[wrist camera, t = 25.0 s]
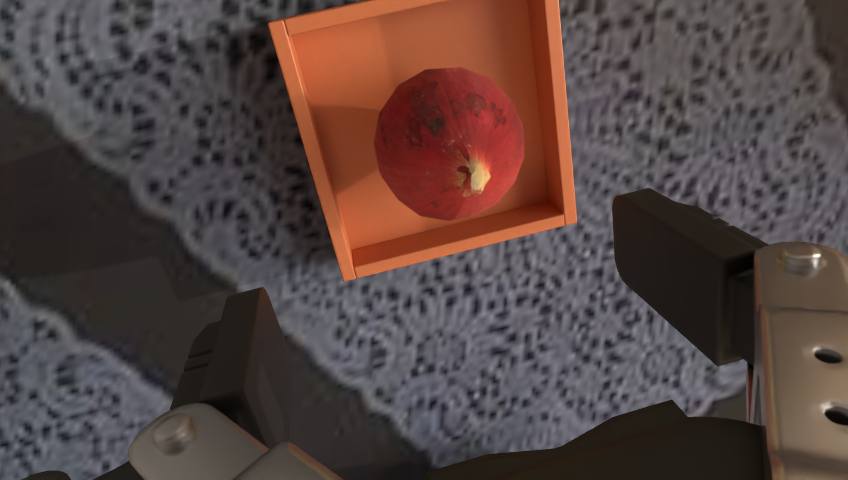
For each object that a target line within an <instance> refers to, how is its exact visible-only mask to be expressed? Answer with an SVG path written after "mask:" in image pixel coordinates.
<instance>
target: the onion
mask: <svg viewBox="0 0 848 480" xmlns="http://www.w3.org/2000/svg"><path fill="white" fill-rule="evenodd" d="M374 148H375V153H376V158H377V163H378V168H379V172H380V174H381V176H382V178H383V179H384V181H385V182H386V184H387V185H388V187H389V188H390V189H391V191H392V192H393V194H394V195H395V196H396V198H397V199H398V200H399V201H400V202H402V203H403V204H404V205H406V206H407V207H408V208H410V209H411V210H412V211H414V212H415V213H416V214H418V215H419V216H422V217H428V218H434V219H439V220H445V221H452V220H457V219H462V218H467V217H472V216H476V215H478V214H479V213H481V212H483V211H485V210H486V209H488V208H490V207H492V206H493V205H495V204H497V203H498V202H499V201H500V199H501V198H502V197H503V196H504V195H505V193H506V192H507V191H508V190H509V189H510V187H511V186H512V185H513V184H514V183H515V180H516V178H517V175H518V172H519V170H520V167H521V164H522V162H523V159H524V129H523V124H522V122H521V120H520V118H519V116H518V113H517V111H516V109H515V107H514V105H513V102H512V101H511V100H510V98H509V97H508V96H507V95H506V94H505V93H504V92H503V91H502V90H501V89H500V88H499V87H498V86H497V85H496V84H495V83H494V82H493V81H492V80H491V79H490V78H489V77H487V76H484V75H481V74H478V73H476V72H473V71H470V70H467V69H465V68H462V67H455V68H440V69H425V70H424V71H422V72H420V73H418V74H417V75H415V76H413V77H411V78H410V79H408V80H406V81H404V82H403V83H401V84H399V85H398V86H397V88H396V89H395V91H394V92H393V94H392V95H391V96H390V98H389V99H388V101H387V102H386V104H385V105H384V107H383V108H382V110H381V111H380V113H379V116H378V122H377V127H376V133H375V139H374Z"/></svg>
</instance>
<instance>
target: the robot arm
mask: <svg viewBox="0 0 848 480" xmlns="http://www.w3.org/2000/svg"><path fill="white" fill-rule="evenodd" d="M612 214H613V233H614V252H615V262H616V266H617V270H618V272H619V274H620V276H621V278H622V280H623V281H624V282H625V284H626V285H628V286H629V287H630V288H631V289H632V290H633V291H634V292H635V293H636V294H638V295H639V296H640V297H641V298H642V299H643V300H644V301H645V302H647V303H648V304H649V305H650V306H651V307H652V308H653V309H654V310H655V311H657V312H658V313H659V314H660V315H661V316H662V317H663V318H664V319H665V320H667V321H668V322H669V323H670V324H671V325H672V326H673V327H674V328H675V329H677V330H678V331H679V332H680V333H681V334H682V335H683V336H684V337H686V338H687V339H688V340H689V341H690V342H691V343H692V344H693V345H694V346H696V347H697V348H698V349H699V350H700V351H701V352H702V353H703V354H704V355H706V356H707V357H708V358H709V359H710V360H711V361H712V362H713V363H714V364H716V365H717V366H721V365H725V364H728V363H732V362H735V361H738V360H742V359H744V360H746V361H747V374H746V395H747V422H745V421H739V420H733V419H728V418H717V417H687V416H686V415H685V413H684V412H683V411H682V410H681V409H680V408H679V407H678V406H677V405H676V403H675V402H674V401H673V400H669V401H665V402H662V403H659V404H655V405H652V406H648V407H645V408H642V409H638V410H635V411H632V412H628V413H625V414H622V415H618V416H615V417H612V418H610V419H609V420H607V421H605V422H603V423H602V424H600V425H598V426H596V427H595V428H593V429H591V430H589V431H588V432H586V433H584V434H582V435H581V436H579V437H577V438H575V439H574V440H572V441H570V442H568V443H567V444H565V445H563V446H561V447H558V448H554V449H545V450H533V451H521V452H509V453H497V454H487V455H483V456H480V457H477V458H473V459H470V460H466V461H463V462H460V463H456V464H453V465H450V466H446V467H443V468H439V469H436V470H433V471H429V472H426V473H425V478H426V480H848V259H847V258H846V257H845V256H844V255H843V254H841V253H840V252H838V251H836V250H834V249H832V248H829V247H826V246H823V245H819V244H814V243H807V242H781V243H775V244H771V245H768V244H767V243H765V242H763V241H761V240H759V239H757V238H755V237H753V236H751V235H750V234H748V233H746V232H744V231H742V230H740V229H738V228H736V227H735V226H730V225H729V223H727V222H725V221H723V220H721V219H720V218H718V219H716V216H714V215H712V214H710V213H708V212H706V211H704V210H703V209H701V208H699V207H694V206H690V205H686V204H682V203H678V202H674V201H672V200H671V199H669V198H667V197H665V196H663V195H661V194H660V193H658V192H656V191H654V190H652V189H650V188H646V189H642V190H639V191H635V192H631V193H627V194H623V195H619V196H616V197H615V198H614V200H613V205H612ZM188 357H189V359H187V361H186V364H185V367H184V372H183V373H182V376H181V379H180V382H179V384H178V387H177V390H176V393H175V396H174V399H173V402H172V405H171V408H170V411H168V412H166V413H164V414H162V415H161V416H159V417H157V418H156V419H154V420H153V421H152V422H150V423H149V424H148V425H147V426H146V427H144V428H143V429H142V430H141V431H140V432H139V434H138V435H137V436H136V437H135V439H134V440H133V442H132V444H131V446H130V449H129V453H128V457H129V461H128V462H126V463H125V464H123V465H121V466H119V467H118V468H116V469H114V470H112V471H110V472H108V473H106V474H104V475H102V476H100V477H98V478H96V479H94V480H343V479H342V478H340V477H339V476H337V475H336V474H335V473H333V472H332V471H330V470H329V469H327V468H326V467H325V466H323V465H322V464H320V463H319V462H317V461H316V460H315V459H313V458H312V457H310V456H309V455H307V454H306V453H305V452H303V451H302V450H300V449H299V448H298V447H296V446H295V445H293V444H292V443H290V442H288V441H289V421H290V402H291V382H292V368H291V361H290V356H289V352H288V349H287V346H286V343H285V340H284V337H283V334H282V332H281V329H280V326H279V323H278V321H277V318H276V315H275V312H274V310H273V307H272V304H271V301H270V299H269V296H268V294H267V292H266V290H265V289H264V288H263V287H261V288H257V289H253V290H249V291H245V292H241V293H238V294H234V295H230V296H228V297H227V300H226V304H225V307H224V311H223V314H222V318H221V321H218V322H215V323H211V324H208V325H207V326H206V327H205V328H204V329H203V331H202V332H201V333H200V334H199V335H198V336H197V337H196V338H195V339H194V341H193V344H192V347H191V350H190V353H189V355H188ZM22 480H71V479H70V477H69V476H68V475H67V474H66V473H64V472H61V471H45V472H41V473H37V474H34V475H32V476H29V477H26V478H24V479H22Z"/></svg>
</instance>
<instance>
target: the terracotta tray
mask: <svg viewBox="0 0 848 480" xmlns="http://www.w3.org/2000/svg"><path fill="white" fill-rule="evenodd" d="M268 26H269V30H270V33H271V37H272V40H273V43H274V47H275V50H276V54H277V57H278V60H279V64H280V67H281V71H282V74H283V77H284V81H285V84H286V88H287V91H288V94H289V98H290V101H291V105H292V108H293V111H294V115H295V118H296V122H297V125H298V128H299V132H300V135H301V138H302V142H303V145H304V149H305V152H306V155H307V159H308V162H309V166H310V169H311V172H312V176H313V179H314V183H315V186H316V189H317V193H318V196H319V200H320V203H321V206H322V210H323V213H324V217H325V220H326V223H327V227H328V230H329V233H330V237H331V240H332V244H333V247H334V250H335V254H336V257H337V261H338V264H339V267H340V271H341V274H342V278H343V281H348V280H352V279H356V277H357V278H360V277H364V276H368V275H372V274H376V273H380V272H384V271H388V270H391V269H395V268H399V267H403V266H407V265H411V264H415V263H419V262H423V261H427V260H431V259H435V258H439V257H443V256H446V255H450V254H454V253H458V252H462V251H466V250H470V249H474V248H478V247H482V246H486V245H490V244H494V243H498V242H501V241H505V240H509V239H513V238H517V237H521V236H525V235H529V234H533V233H537V232H541V231H545V230H549V229H553V228H556V227H560V226H564V225H569V224H573V223H576V222H577V216H576V204H575V192H574V180H573V168H572V156H571V144H570V133H569V121H568V109H567V97H566V85H565V73H564V61H563V49H562V37H561V25H560V13H559V1H558V0H364V1H360V2H355V3H350V4H346V5H341V6H337V7H332V8H327V9H323V10H318V11H314V12H309V13H304V14H300V15H295V16H291V17H286V18H281V19H277V20H273V21H271V22H269V23H268ZM455 67H462V68H465V69H467V70H470V71H473V72H476V73H478V74H481V75H484V76H487V77H489V78H490V79H491V80H492V81H493V82H494V83H495V84H496V85H497V86H498V87H499V88H500V89H501V90H502V91H503V92H504V93H505V94H506V95H507V96H508V97H509V98H510V100H511V101H512V102H513V105H514V107H515V109H516V111H517V113H518V116H519V118H520V120H521V122H522V124H523V129H524V159H523V162H522V164H521V167H520V170H519V172H518V175H517V178H516V180H515V183H514V184H513V185H512V186H511V187H510V189H509V190H508V191H507V192H506V193H505V195H504V196H503V197H502V198H501V199H500V201H499V202H498V203H497V204H495V205H493V206H492V207H490V208H488V209H486V210H485V211H483V212H481V213H479V214H478V215H476V216H472V217H467V218H462V219H457V220H452V221H445V220H439V219H434V218H428V217H422V216H419V215H418V214H416V213H415V212H414V211H412V210H411V209H410V208H408V207H407V206H406V205H404V204H403V203H402V202H400V201H399V200H398V199H397V198H396V196H395V195H394V194H393V192H392V191H391V189H390V188H389V187H388V185H387V184H386V182H385V181H384V179H383V178H382V176H381V174H380V172H379V168H378V163H377V158H376V153H375V148H374V139H375V133H376V127H377V122H378V116H379V113H380V111H381V110H382V108H383V107H384V105H385V104H386V102H387V101H388V99H389V98H390V96H391V95H392V94H393V92H394V91H395V89H396V88H397V86H398V85H399V84H401V83H403V82H404V81H406V80H408V79H410V78H411V77H413V76H415V75H417V74H418V73H420V72H422V71H424V70H425V69H440V68H455Z"/></svg>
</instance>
